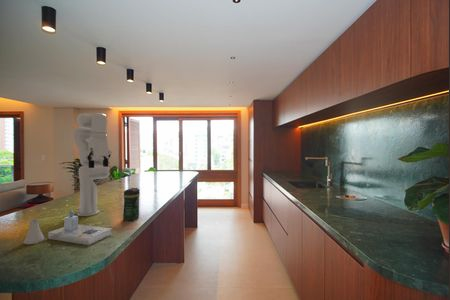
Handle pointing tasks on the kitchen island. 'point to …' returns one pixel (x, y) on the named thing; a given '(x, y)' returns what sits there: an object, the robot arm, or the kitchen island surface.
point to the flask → (34, 233)
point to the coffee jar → (131, 204)
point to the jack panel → (81, 234)
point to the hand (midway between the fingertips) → (98, 167)
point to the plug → (70, 222)
